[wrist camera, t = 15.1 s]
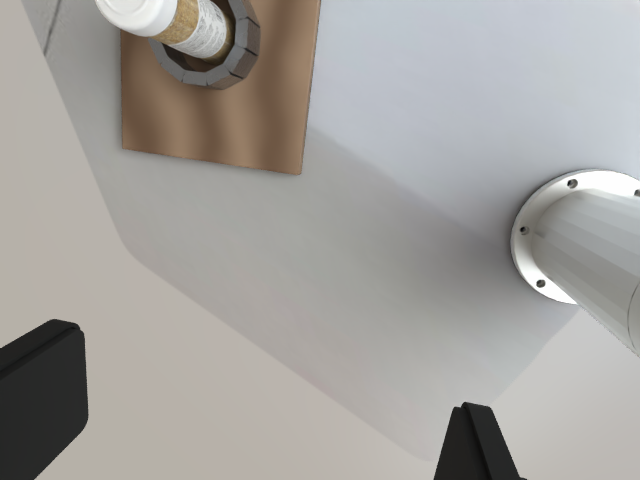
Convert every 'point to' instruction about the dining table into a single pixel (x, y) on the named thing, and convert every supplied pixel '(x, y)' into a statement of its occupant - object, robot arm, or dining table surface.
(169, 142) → the socket board
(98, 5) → the sprinkles bottle
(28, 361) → the robot arm
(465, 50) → the dining table surface
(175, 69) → the collar
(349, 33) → the dining table surface
